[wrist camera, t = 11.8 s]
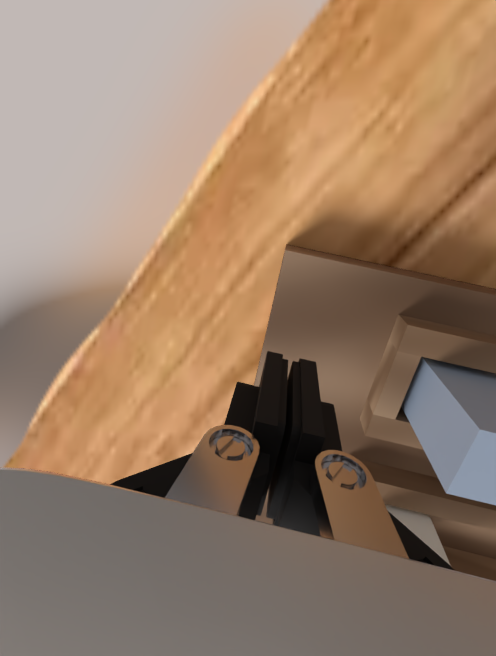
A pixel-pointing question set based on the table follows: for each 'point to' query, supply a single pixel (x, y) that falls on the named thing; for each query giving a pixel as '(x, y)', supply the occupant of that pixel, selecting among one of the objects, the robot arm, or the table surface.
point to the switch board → (387, 375)
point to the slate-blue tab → (456, 426)
